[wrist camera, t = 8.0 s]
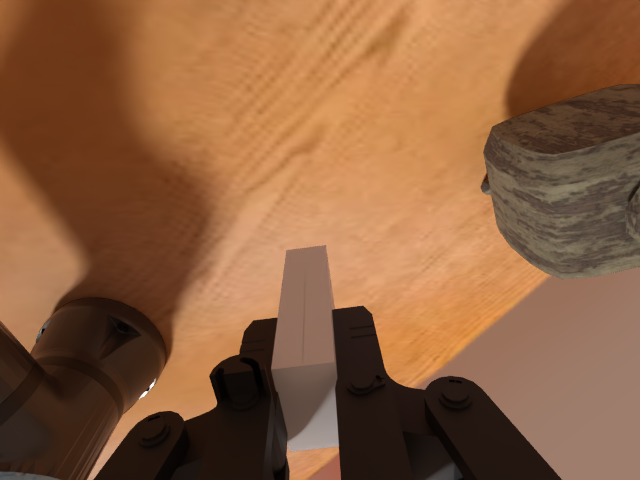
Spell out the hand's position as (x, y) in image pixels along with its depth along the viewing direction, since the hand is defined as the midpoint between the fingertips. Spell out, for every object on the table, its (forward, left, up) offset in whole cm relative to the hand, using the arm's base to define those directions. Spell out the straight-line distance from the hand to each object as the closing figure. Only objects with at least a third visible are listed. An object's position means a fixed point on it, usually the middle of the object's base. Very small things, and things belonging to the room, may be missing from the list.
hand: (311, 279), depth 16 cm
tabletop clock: (+22, -3, -29) cm, 37 cm away
